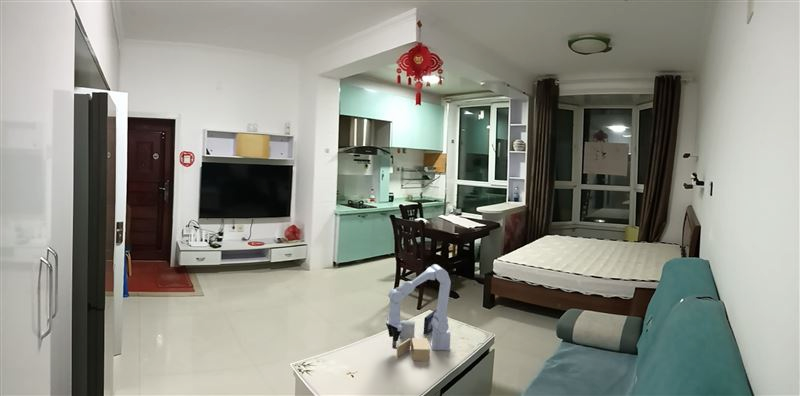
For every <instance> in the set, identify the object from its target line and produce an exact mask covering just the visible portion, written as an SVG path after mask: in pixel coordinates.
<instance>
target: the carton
mask: <svg viewBox="0 0 800 396" xmlns="http://www.w3.org/2000/svg"><path fill="white" fill-rule="evenodd" d="M410 351H411V356H412V361H414V362H415V361H416V362H430V358H431V357H430V356H431V354H430V353H431V348H430V345H429V341H428V338H427V337H425V338H424V337H420V338H419V337H414V338H412V339H411V343H410Z"/></svg>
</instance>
